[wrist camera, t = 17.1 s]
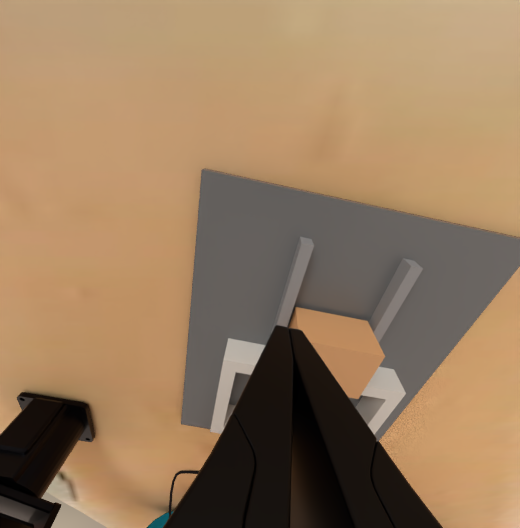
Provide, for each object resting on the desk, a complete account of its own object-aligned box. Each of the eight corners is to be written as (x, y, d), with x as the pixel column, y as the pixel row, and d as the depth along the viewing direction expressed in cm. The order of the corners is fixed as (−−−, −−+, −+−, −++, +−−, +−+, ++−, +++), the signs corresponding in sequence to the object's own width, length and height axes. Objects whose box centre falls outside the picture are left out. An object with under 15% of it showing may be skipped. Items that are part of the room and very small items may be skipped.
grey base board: (364, 450, 25) (373, 480, 23) (182, 418, 25) (173, 446, 22) (529, 239, 14) (577, 259, 12) (204, 168, 13) (190, 175, 11)
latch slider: (346, 361, 18) (358, 399, 16) (281, 348, 18) (282, 385, 16) (367, 320, 16) (385, 356, 14) (295, 306, 16) (299, 340, 14)
